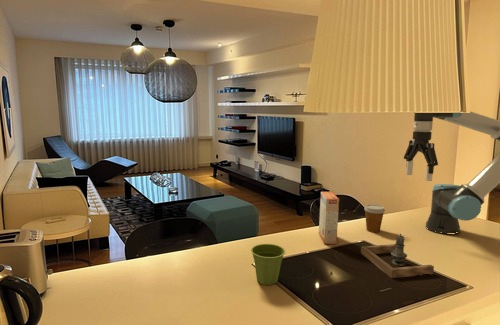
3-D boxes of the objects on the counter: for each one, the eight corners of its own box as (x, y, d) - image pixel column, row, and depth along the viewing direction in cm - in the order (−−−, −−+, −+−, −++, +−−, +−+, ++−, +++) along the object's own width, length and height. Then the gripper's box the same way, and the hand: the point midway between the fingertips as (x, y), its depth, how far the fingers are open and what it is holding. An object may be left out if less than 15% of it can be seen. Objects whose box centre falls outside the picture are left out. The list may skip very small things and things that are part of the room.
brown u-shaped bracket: (397, 250, 153) (398, 243, 153) (433, 274, 132) (433, 266, 131) (360, 253, 150) (361, 246, 149) (391, 278, 128) (391, 270, 128)
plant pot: (254, 290, 119) (254, 258, 117) (247, 274, 130) (247, 244, 129) (288, 287, 121) (289, 255, 119) (279, 271, 133) (279, 242, 131)
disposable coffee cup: (380, 227, 182) (382, 204, 180) (385, 234, 173) (387, 209, 171) (361, 226, 183) (362, 203, 181) (365, 233, 174) (366, 209, 172)
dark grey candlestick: (408, 266, 138) (410, 236, 136) (391, 265, 139) (394, 235, 137) (404, 260, 143) (406, 231, 142) (389, 259, 145) (391, 230, 143)
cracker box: (337, 244, 159) (339, 198, 156) (323, 244, 159) (325, 198, 156) (331, 233, 173) (333, 191, 169) (318, 233, 173) (320, 190, 170)
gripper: (398, 129, 171) (394, 172, 175) (434, 133, 147) (429, 183, 150) (412, 129, 173) (408, 172, 176) (450, 132, 149) (445, 183, 152)
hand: (418, 177), depth 163 cm, fingers open, 13 cm apart
